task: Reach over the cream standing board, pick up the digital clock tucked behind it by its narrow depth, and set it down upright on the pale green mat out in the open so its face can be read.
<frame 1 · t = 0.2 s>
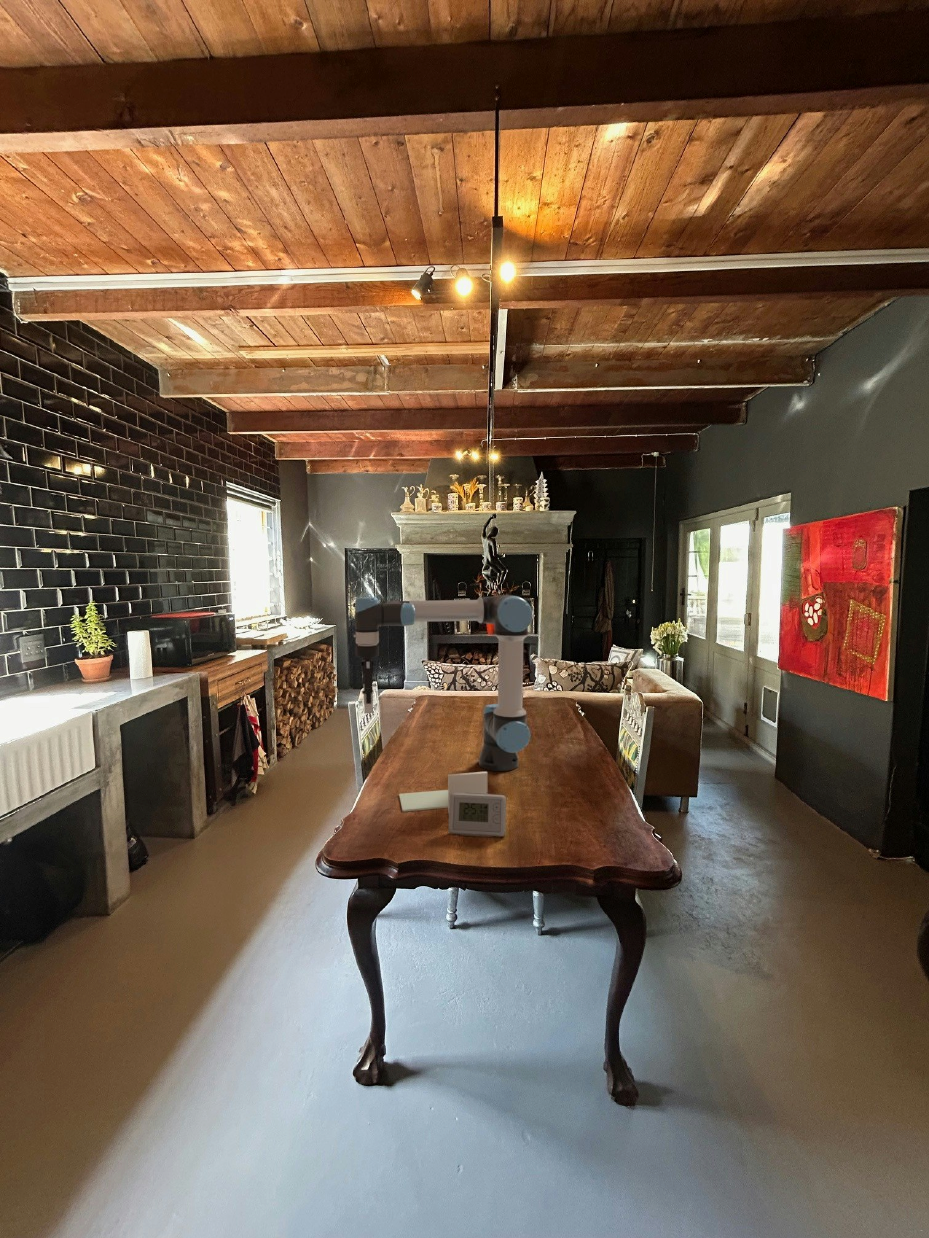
hand: (368, 707, 178), 28 cm above the table, fingers open, 13 cm apart
mat: (430, 800, 171), on the table
digital clock: (477, 833, 151), on the table
screen: (467, 811, 163), on the table
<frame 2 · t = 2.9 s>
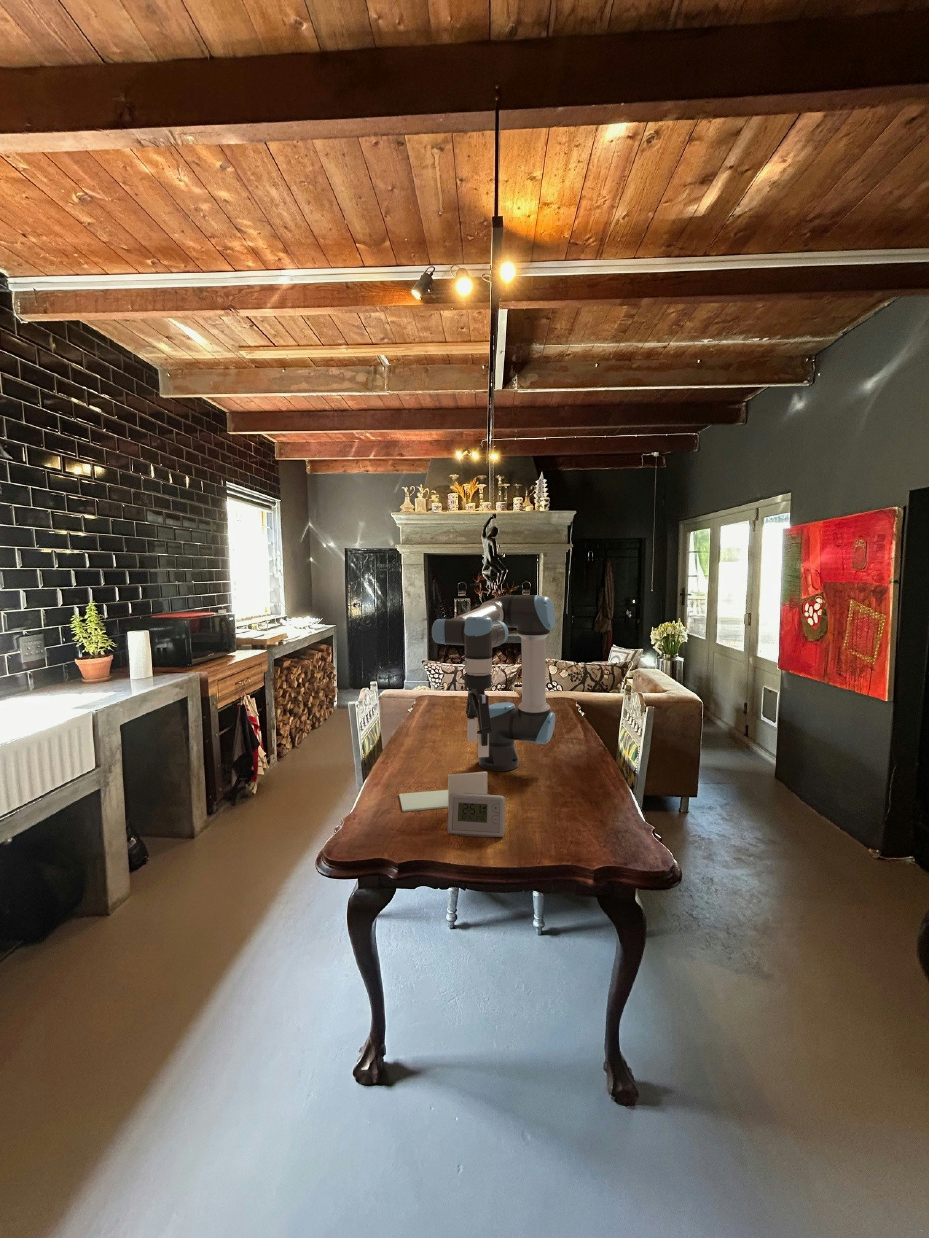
hand: (477, 748, 148), 24 cm above the table, fingers open, 13 cm apart
nothing on the table moved.
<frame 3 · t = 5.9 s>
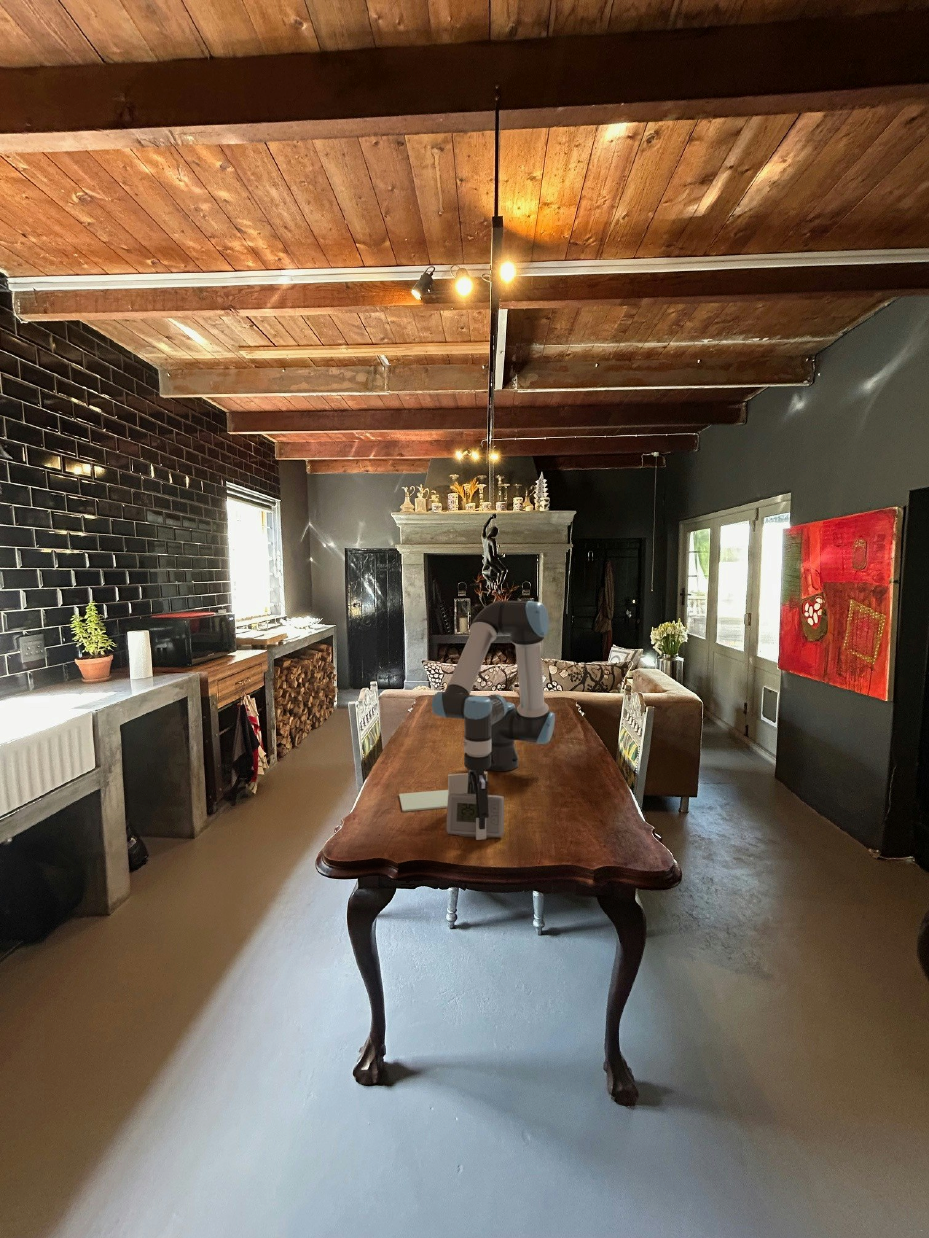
hand: (477, 830, 151), 0 cm above the table, fingers closed on digital clock, 8 cm apart
digital clock: (475, 833, 150), on the table, touching gripper
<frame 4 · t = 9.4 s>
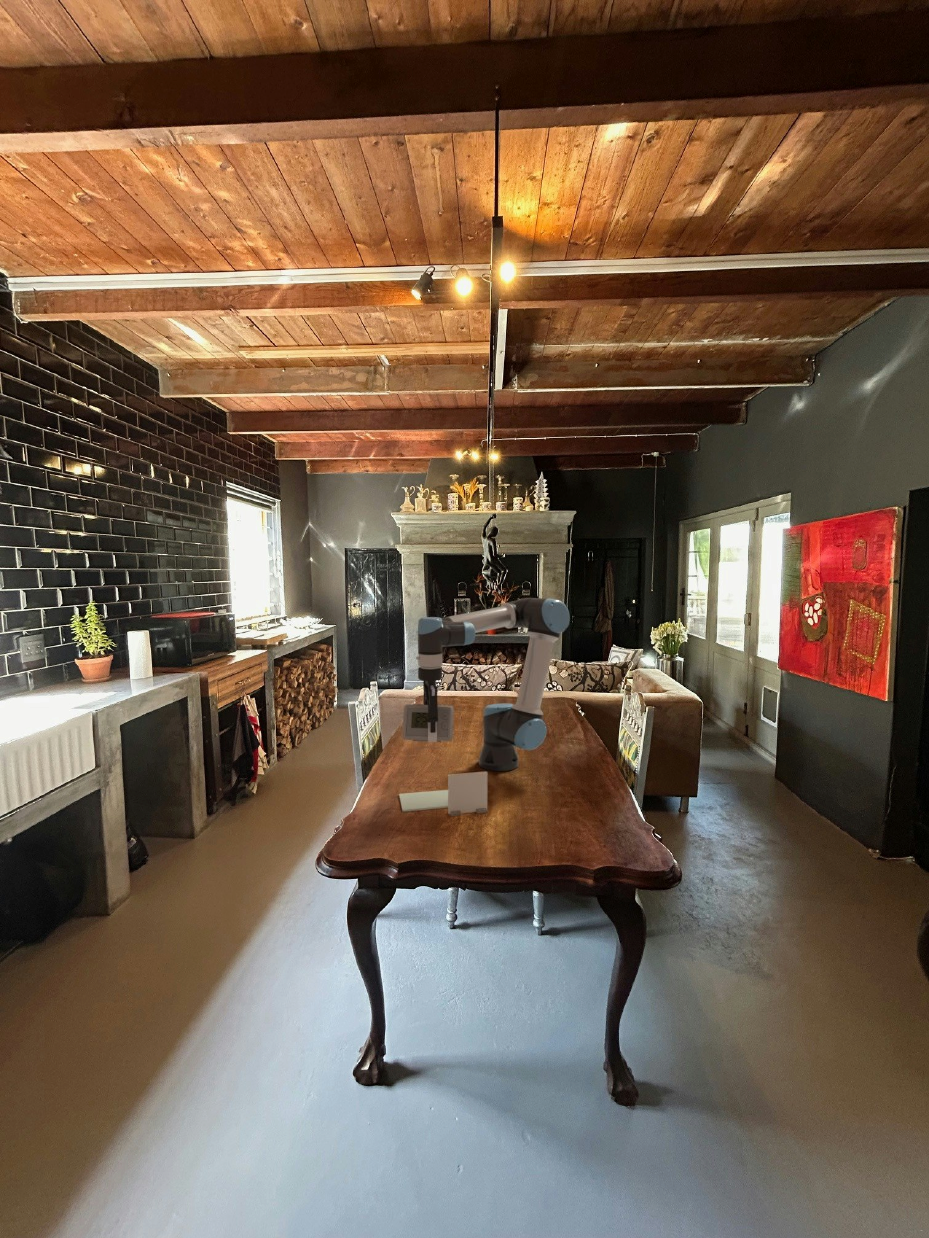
hand: (430, 737, 169), 21 cm above the table, fingers closed on digital clock, 8 cm apart
digital clock: (428, 739, 169), point 20 cm above the table, touching gripper
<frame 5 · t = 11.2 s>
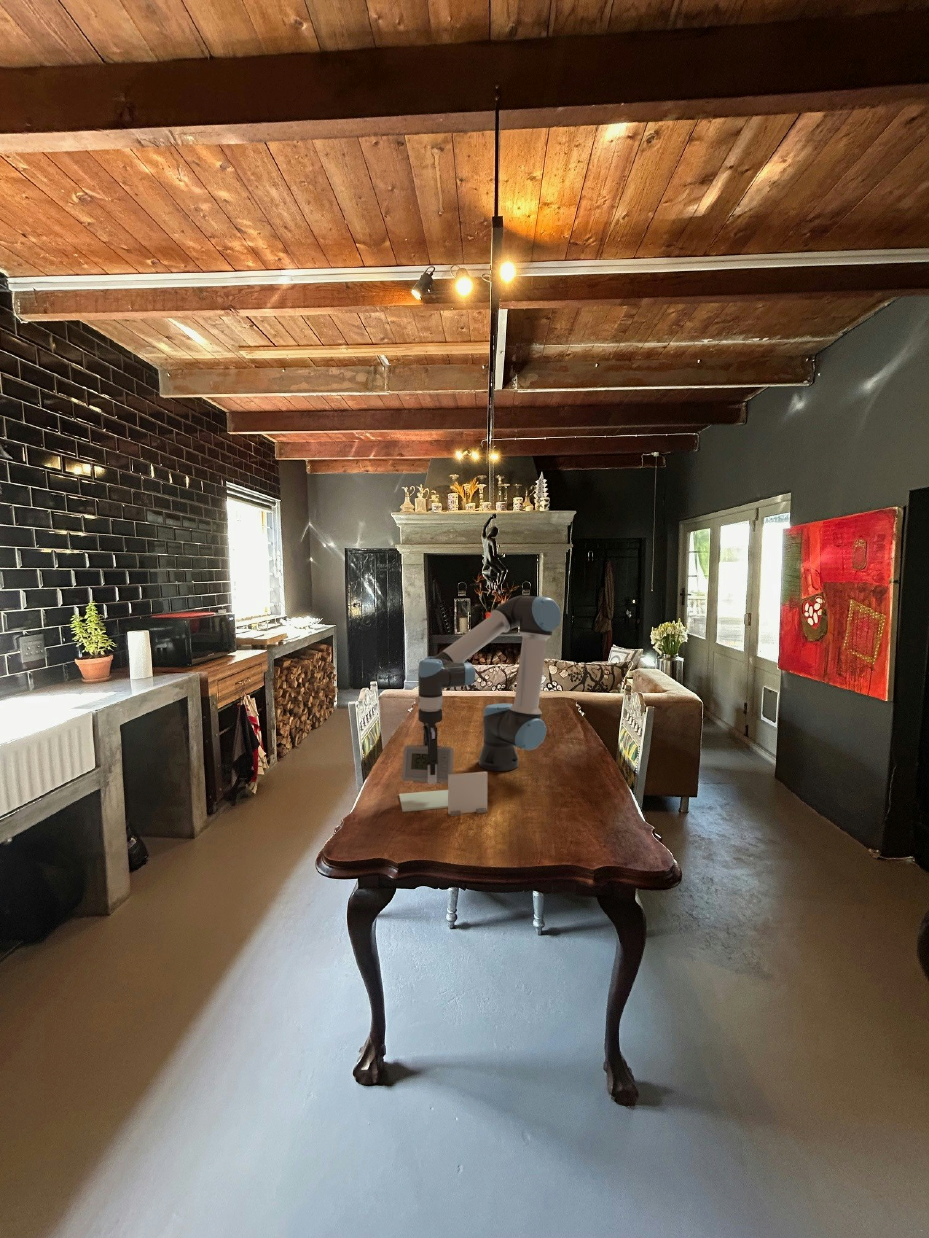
hand: (430, 778, 170), 7 cm above the table, fingers closed on digital clock, 8 cm apart
digital clock: (427, 780, 170), point 7 cm above the table, touching gripper
when the fingers open (3 cm above the table, at t = 12.9 s): digital clock drops 2 cm, resting on mat.
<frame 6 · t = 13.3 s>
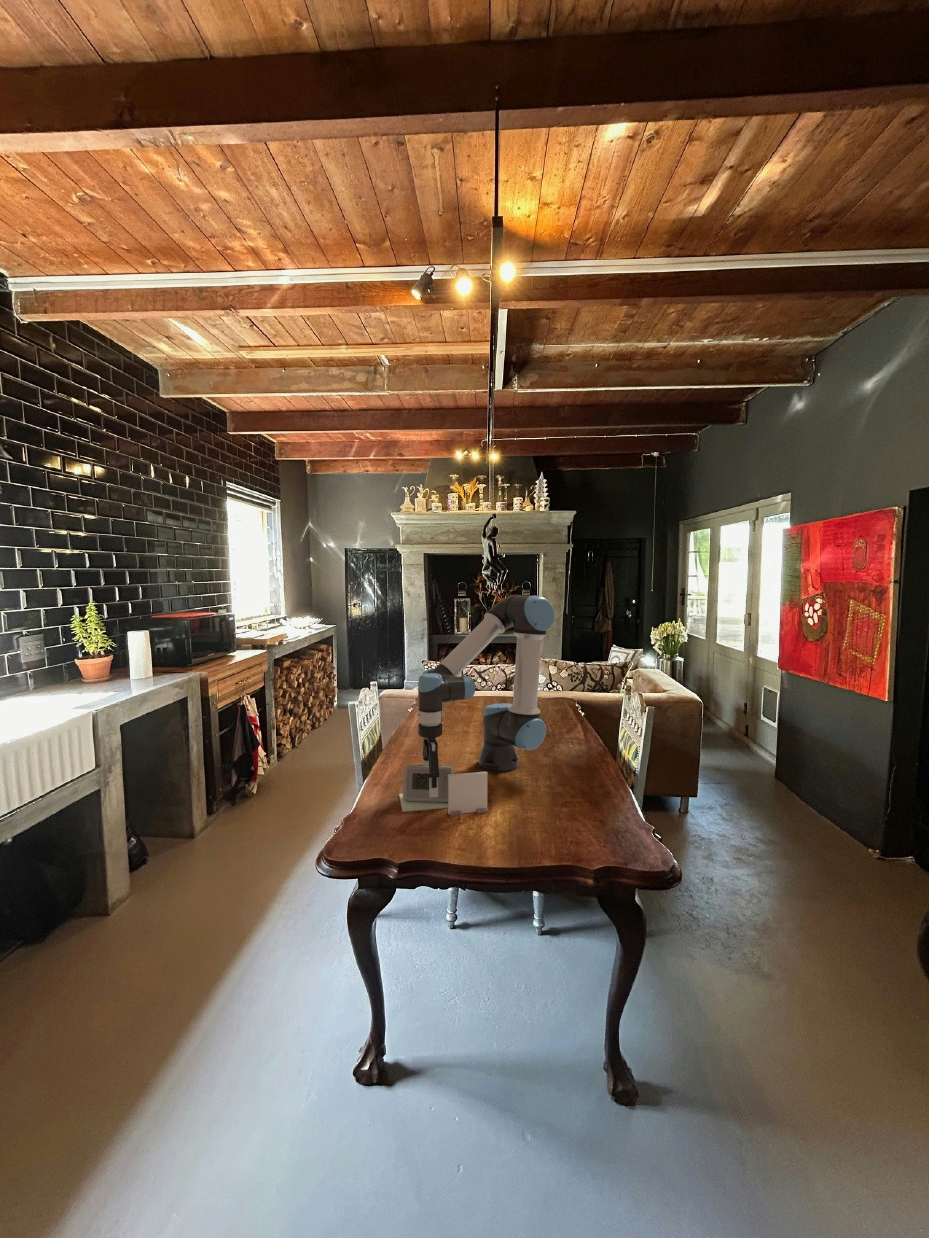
hand: (430, 788, 171), 4 cm above the table, fingers open, 13 cm apart
digital clock: (428, 800, 171), resting on mat
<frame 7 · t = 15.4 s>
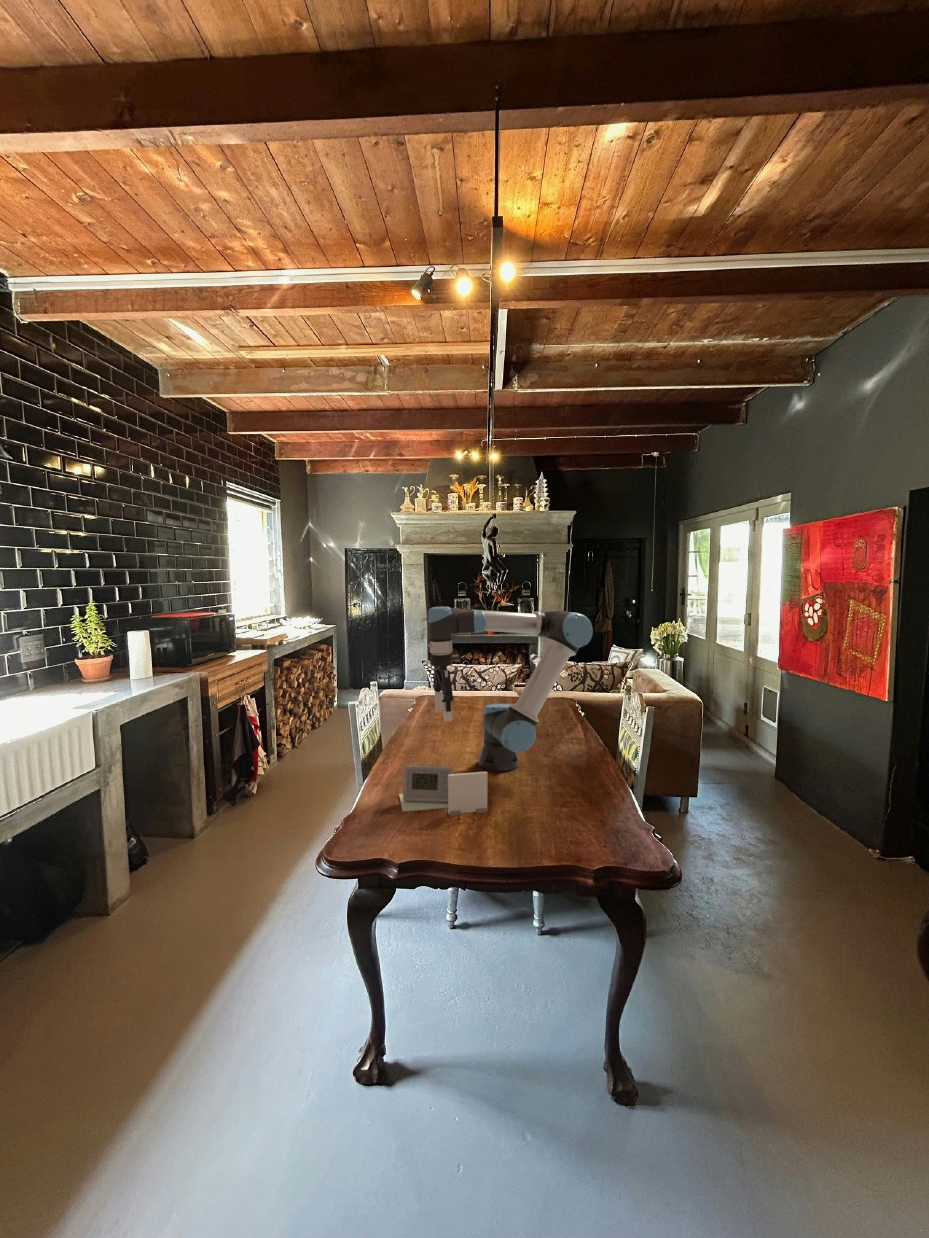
hand: (443, 715, 181), 25 cm above the table, fingers open, 13 cm apart
nothing on the table moved.
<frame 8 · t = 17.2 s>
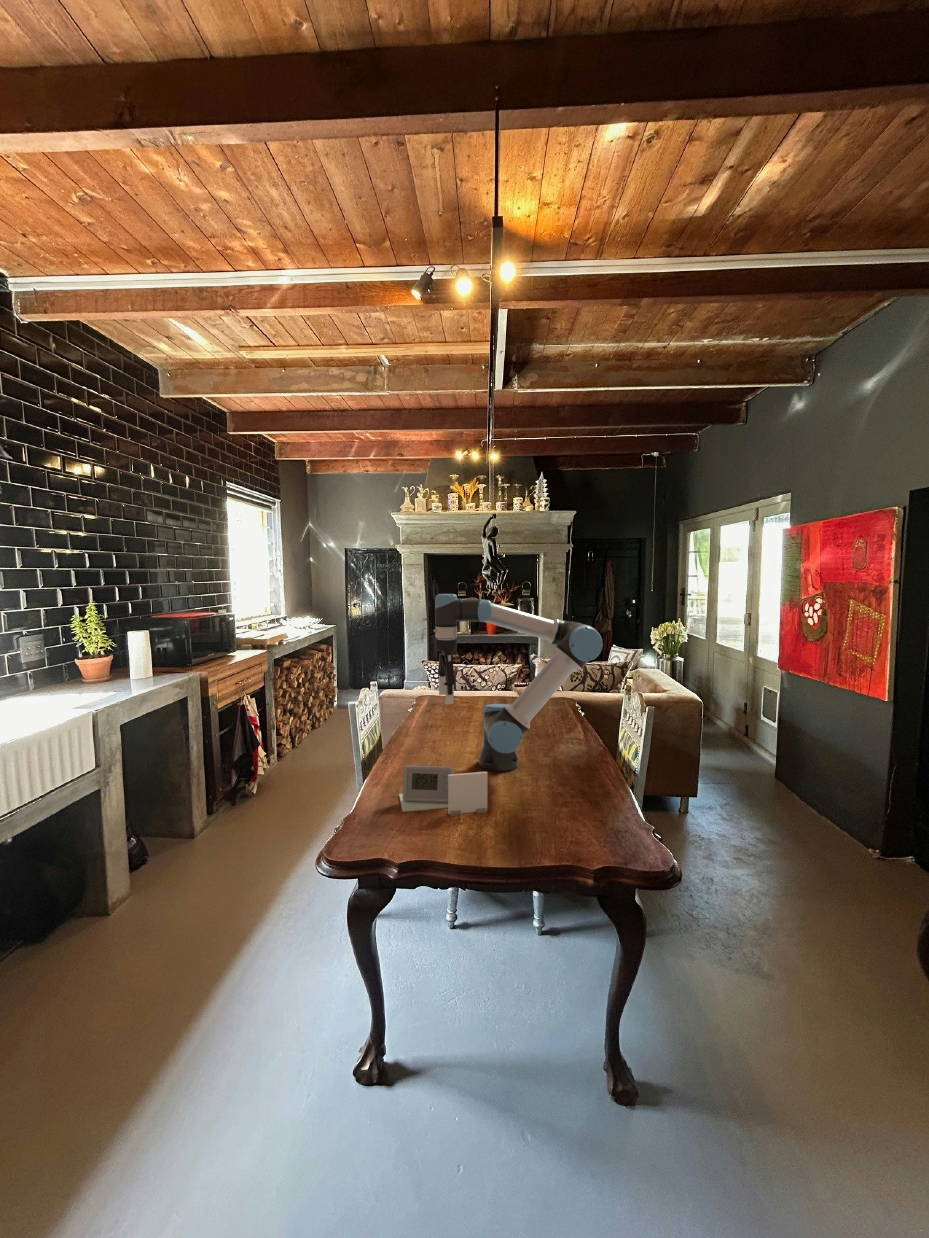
hand: (446, 699, 187), 29 cm above the table, fingers open, 13 cm apart
nothing on the table moved.
at the end: digital clock inside the target area on the mat (0.9 cm from its centre), point 0.4 cm above the mat's base; digital clock tilted 0°; the gripper is holding nothing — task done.
